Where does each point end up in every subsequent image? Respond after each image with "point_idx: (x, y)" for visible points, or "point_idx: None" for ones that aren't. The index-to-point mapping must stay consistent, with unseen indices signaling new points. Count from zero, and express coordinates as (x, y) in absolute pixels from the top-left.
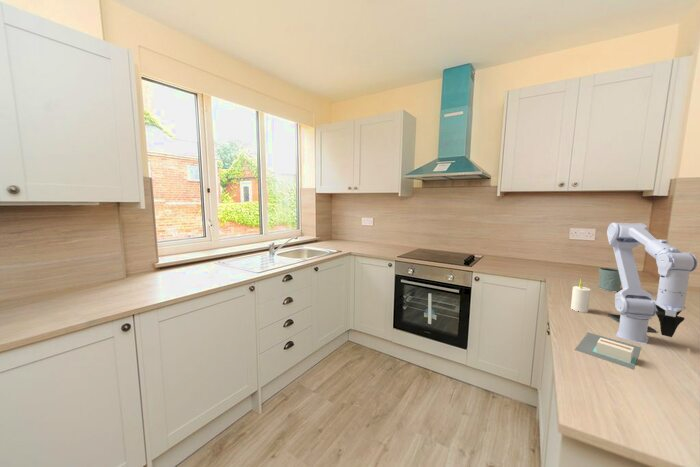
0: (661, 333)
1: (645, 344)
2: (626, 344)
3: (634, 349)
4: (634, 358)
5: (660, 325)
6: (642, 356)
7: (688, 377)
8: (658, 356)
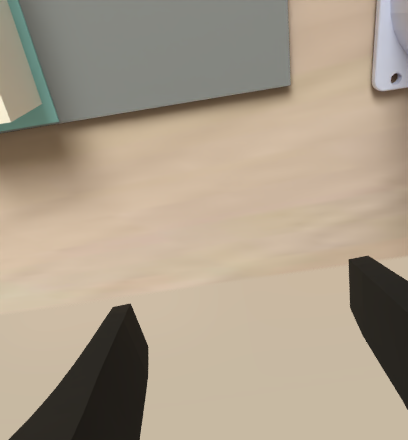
0: (108, 314)
1: (378, 87)
2: (260, 6)
3: (207, 70)
4: (42, 113)
5: (63, 379)
6: (165, 120)
7: (111, 284)
8: (253, 169)
